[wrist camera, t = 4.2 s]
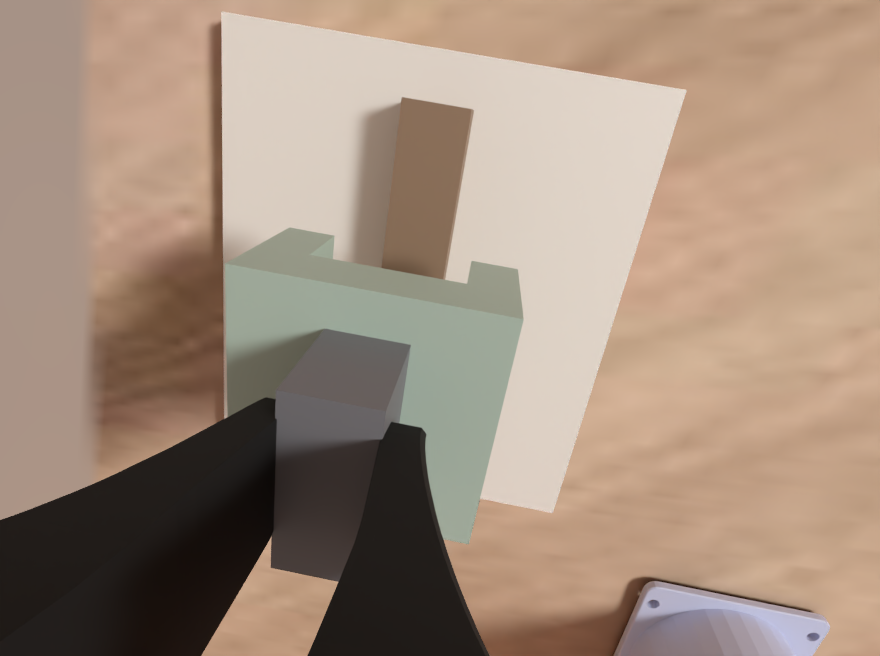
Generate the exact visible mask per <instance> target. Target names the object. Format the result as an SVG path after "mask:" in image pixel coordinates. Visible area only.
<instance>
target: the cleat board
mask: <svg viewBox="0 0 880 656" xmlns="http://www.w3.org/2000/svg"><path fill="white" fill-rule="evenodd" d="M221 29H222V176H223V322H224V419H225V418H227V417H228V412H227V355H226V298H225V263H227V262H229V261H231V260H232V259H234V258H236V257H238V256H239V255H241V254H243V253H245V252H247V251H248V250H250V249H252V248H254V247H255V246H257V245H259V244H261V243H263V242H264V241H266V240H268V239H270V238H272V237H273V236H275V235H277V234H279V233H280V232H282V231H284V230H286V229H288V228H289V227H290V228H295V229H301V230H306V231H312V232H317V233H323V234H328V235H334V236H335V237H334V250H333V259H335V260H340V261H346V262H351V263H357V264H362V265H368V266H373V267H378V268H384V269H389V270H395V271H400V272H406V273H411V274H416V275H422V276H427V277H433V278H438V279H443V280H449V281H454V282H460V283H465V284H467V282H468V277H469V271H470V266H471V261H476V262H481V263H487V264H492V265H498V266H503V267H509V268H514V269H518V276H519V284H520V292H521V301H522V309H523V318H524V320H523V324H522V328H521V332H520V336H519V340H518V345H517V349H516V353H515V357H514V361H513V365H512V369H511V373H510V377H509V381H508V386H507V390H506V394H505V398H504V402H503V406H502V410H501V414H500V418H499V422H498V426H497V431H496V435H495V439H494V443H493V447H492V451H491V455H490V459H489V463H488V467H487V472H486V476H485V480H484V484H483V488H482V492H481V496H480V499H485V500H490V501H495V502H500V503H505V504H510V505H515V506H520V507H525V508H530V509H535V510H540V511H545V512H550V513H553V511H554V508H555V504H556V501H557V498H558V495H559V492H560V489H561V485H562V482H563V479H564V476H565V473H566V470H567V467H568V463H569V460H570V457H571V454H572V451H573V448H574V444H575V441H576V438H577V435H578V432H579V429H580V425H581V422H582V419H583V416H584V413H585V410H586V406H587V403H588V400H589V397H590V394H591V391H592V388H593V384H594V381H595V378H596V375H597V372H598V369H599V365H600V362H601V359H602V356H603V353H604V350H605V346H606V343H607V340H608V337H609V334H610V331H611V327H612V324H613V321H614V318H615V315H616V312H617V309H618V305H619V302H620V299H621V296H622V293H623V290H624V286H625V283H626V280H627V277H628V274H629V271H630V267H631V264H632V261H633V258H634V255H635V252H636V249H637V245H638V242H639V239H640V236H641V233H642V230H643V226H644V223H645V220H646V217H647V214H648V211H649V207H650V204H651V201H652V198H653V195H654V192H655V188H656V185H657V182H658V179H659V176H660V173H661V170H662V166H663V163H664V160H665V157H666V154H667V151H668V147H669V144H670V141H671V138H672V135H673V132H674V128H675V125H676V122H677V119H678V116H679V113H680V109H681V106H682V103H683V100H684V97H685V94H686V91H687V90H683V89H677V88H671V87H665V86H659V85H654V84H648V83H642V82H636V81H630V80H624V79H618V78H612V77H606V76H600V75H594V74H588V73H583V72H577V71H571V70H565V69H559V68H553V67H547V66H541V65H535V64H529V63H523V62H517V61H511V60H506V59H500V58H494V57H488V56H482V55H476V54H470V53H464V52H458V51H452V50H446V49H440V48H435V47H429V46H423V45H417V44H411V43H405V42H399V41H393V40H387V39H381V38H375V37H369V36H364V35H358V34H352V33H346V32H340V31H334V30H328V29H322V28H316V27H310V26H304V25H298V24H293V23H287V22H281V21H275V20H269V19H263V18H257V17H251V16H245V15H239V14H233V13H227V12H222V11H221Z"/></svg>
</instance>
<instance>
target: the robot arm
mask: <svg viewBox="0 0 880 656" xmlns="http://www.w3.org/2000/svg"><path fill="white" fill-rule="evenodd" d="M275 403H276V399H273V398H268V397H265V398H263V399H261V400H259V401H257V402H255V403H253V404H251V405H249V406H247V407H245V408H243V409H242V410H240V411H238V412H236V413H234V414H232V415H231V416H229V417H227V418H225V419H223V420H221V421H220V422H218V423H216V424H214V425H212V426H210V427H208V428H207V429H205V430H203V431H201V432H199V433H197V434H195V435H193V436H192V437H190V438H188V439H186V440H184V441H182V442H180V443H178V444H176V445H175V446H173V447H171V448H169V449H167V450H165V451H162V452H160V453H158V454H156V455H154V456H152V457H150V458H148V459H146V460H144V461H142V462H139V463H137V464H135V465H133V466H131V467H129V468H127V469H125V470H123V471H121V472H119V473H117V474H114V475H112V476H110V477H108V478H106V479H104V480H101V481H99V482H97V483H94V484H92V485H90V486H87V487H85V488H83V489H80V490H78V491H76V492H73V493H71V494H68V495H66V496H63V497H61V498H58V499H55V500H53V501H51V502H48V503H45V504H43V505H40V506H38V507H35V508H33V509H30V510H27V511H25V512H22V513H19V514H17V515H14V516H11V517H8V518H5V519H2V520H0V656H201V655H202V653H203V651H204V650H205V648H206V646H207V645H208V643H209V641H210V640H211V638H212V636H213V635H214V633H215V631H216V630H217V628H218V626H219V624H220V623H221V621H222V619H223V618H224V616H225V614H226V613H227V611H228V609H229V608H230V606H231V604H232V603H233V601H234V599H235V598H236V596H237V594H238V592H239V591H240V589H241V587H242V586H243V584H244V582H245V581H246V579H247V577H248V576H249V574H250V572H251V571H252V569H253V567H254V565H255V564H256V562H257V560H258V559H259V557H260V555H261V553H262V552H263V550H264V548H265V547H266V545H267V543H268V541H269V540H270V538H271V536H272V533H273V530H274V497H275V465H276V432H277V419H275ZM426 435H427V434H426V433H425V431H424V430H423V429H422V428H421V427H415V426H410V425H405V424H400V423H395V422H391V423H390V425H389V427H388V429H387V431H386V433H385V435H384V437H383V439H382V440H381V439H380V442H379V446H378V450H377V455H376V459H375V463H374V468H373V472H372V476H371V481H370V485H369V489H368V494H367V498H366V502H365V507H364V511H363V515H362V520H361V523H360V526H359V530H358V533H357V536H356V539H355V542H354V545H353V547H352V550H351V552H350V555H349V557H348V560H347V562H346V565H345V567H344V570H343V572H342V575H341V577H340V580H339V583H338V585H337V587H336V590H335V592H334V595H333V597H332V599H331V602H330V604H329V607H328V609H327V611H326V614H325V616H324V619H323V621H322V623H321V626H320V628H319V630H318V633H317V635H316V638H315V640H314V642H313V645H312V647H311V649H310V651H309V654H308V656H490V655H489V653H488V651H487V649H486V647H485V645H484V643H483V641H482V639H481V637H480V634H479V632H478V630H477V628H476V625H475V623H474V621H473V618H472V616H471V614H470V612H469V609H468V607H467V604H466V602H465V599H464V597H463V594H462V592H461V589H460V587H459V584H458V582H457V579H456V576H455V573H454V571H453V568H452V565H451V562H450V559H449V556H448V553H447V550H446V547H445V543H444V540H443V537H442V534H441V530H440V527H439V523H438V519H437V515H436V511H435V507H434V502H433V498H432V494H431V489H430V484H429V478H428V472H427V464H426V453H425V441H426ZM650 600H653V601H650ZM829 629H830V625H829V623H828V622H827V620H826V619H825V617H824V616H822V615H820V614H816V613H811V612H806V611H801V610H796V609H791V608H786V607H782V606H777V605H772V604H767V603H762V602H757V601H752V600H747V599H742V598H737V597H733V596H728V595H723V594H718V593H713V592H708V591H703V590H698V589H693V588H688V587H683V586H679V585H674V584H669V583H664V582H659V581H651V582H649V583H647V584H646V585H645V586H644V587H643V590H642V592H641V594H640V596H639V599H638V601H637V603H636V606H635V608H634V610H633V612H632V615H631V617H630V619H629V621H628V624H627V626H626V628H625V631H624V633H623V635H622V637H621V640H620V642H619V644H618V647H617V649H616V651H615V653H614V656H812V655H813V654H814V652H815V651H816V649H817V648H818V646H819V645H820V643H821V642H822V640H823V639H824V637H825V636H826V634H827V633H828V631H829Z"/></svg>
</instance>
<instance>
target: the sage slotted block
mask: <svg viewBox="0 0 880 656" xmlns="http://www.w3.org/2000/svg"><path fill="white" fill-rule="evenodd" d="M334 237H335V236H334V235H328V234H323V233H317V232H312V231H306V230H301V229H295V228H290V227H289V228H288V229H286V230H284V231H282V232H280V233H279V234H277V235H275V236H273V237H272V238H270V239H268V240H266V241H264V242H263V243H261V244H259V245H257V246H255V247H254V248H252V249H250V250H248V251H247V252H245V253H243V254H241V255H239V256H238V257H236V258H234V259H232V260H231V261H229V262H227V263H225V298H226V355H227V412H228V417H229V416H231V415H232V414H234V413H236V412H238V411H240V410H242V409H243V408H245V407H247V406H249V405H251V404H253V403H255V402H257V401H259V400H261V399H263V398H265V397H268V398H273V399H276V403H275V419H277V432H276V465H275V497H274V530H273V533H272V545H271V568H275V569H280V570H285V571H290V572H294V573H299V574H304V575H309V576H314V577H319V578H323V579H328V580H333V581H338V582H339V580H340V577H341V575H342V572H343V570H344V567H345V565H346V562H347V560H348V557H349V555H350V552H351V550H352V547H353V545H354V542H355V539H356V536H357V533H358V530H359V526H360V523H361V520H362V515H363V511H364V507H365V502H366V498H367V494H368V489H369V485H370V481H371V476H372V472H373V468H374V463H375V459H376V455H377V450H378V446H379V442H380V439H381V440H382V439H383V437H384V435H385V433H386V431H387V429H388V427H389V425H390V423H391V422H395V423H400V424H405V425H410V426H415V427H421V428H422V429H423V430H424V431H425V433H426V434H427V435H426V441H425V453H426V464H427V472H428V478H429V484H430V489H431V494H432V498H433V502H434V507H435V511H436V515H437V519H438V523H439V527H440V530H441V534H442V537H443V539H445V540H450V541H455V542H460V543H465V544H469V541H470V537H471V533H472V529H473V525H474V521H475V517H476V512H477V508H478V504H479V500H480V496H481V492H482V488H483V484H484V480H485V476H486V472H487V467H488V463H489V459H490V455H491V451H492V447H493V443H494V439H495V435H496V431H497V426H498V422H499V418H500V414H501V410H502V406H503V402H504V398H505V394H506V390H507V386H508V381H509V377H510V373H511V369H512V365H513V361H514V357H515V353H516V349H517V345H518V340H519V336H520V332H521V328H522V324H523V320H524V318H523V309H522V301H521V292H520V284H519V276H518V269H514V268H509V267H503V266H498V265H492V264H487V263H481V262H476V261H471V266H470V271H469V277H468V282H467V284H465V283H460V282H454V281H449V280H443V279H438V278H433V277H427V276H422V275H416V274H411V273H406V272H400V271H395V270H389V269H384V268H378V267H373V266H368V265H362V264H357V263H351V262H346V261H340V260H335V259H333V250H334Z"/></svg>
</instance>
